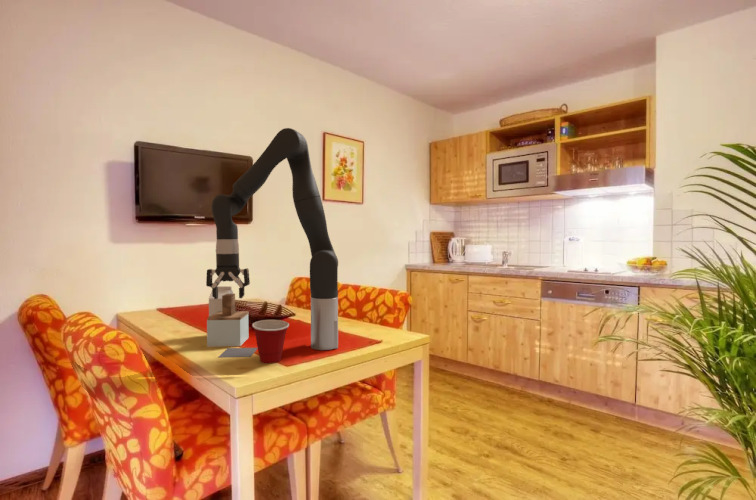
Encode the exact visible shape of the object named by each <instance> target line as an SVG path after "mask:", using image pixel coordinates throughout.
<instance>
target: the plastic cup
mask: <svg viewBox="0 0 756 500" xmlns="http://www.w3.org/2000/svg"><path fill="white" fill-rule="evenodd" d="M251 324H252V328H253V331H254V335H255V340H256V344H257V346H256V347H257V348H258V349H257V351H258V355H259V361H260V362H261V363H263V364H275V363H276V364H277V363H278V362H280V361H281V360H282V354H283V350H284V346H285V338H286V334H287V331H288V328H289V326H290V323H289V322H287V321H285V320H282V319H261V320H258V321H255V322H253V323H251Z"/></svg>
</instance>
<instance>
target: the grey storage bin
mask: <svg viewBox="0 0 756 500" xmlns="http://www.w3.org/2000/svg"><path fill="white" fill-rule="evenodd" d="M249 335H250V334H249V314H247V315H246V316H245V317H243V318H242V319H241V320H206V344H207V345H206V347H207V348H208V347H209V348H210V347H242V345H243V344H244V343H245V342H246V341H247V340H248V339H249Z"/></svg>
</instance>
